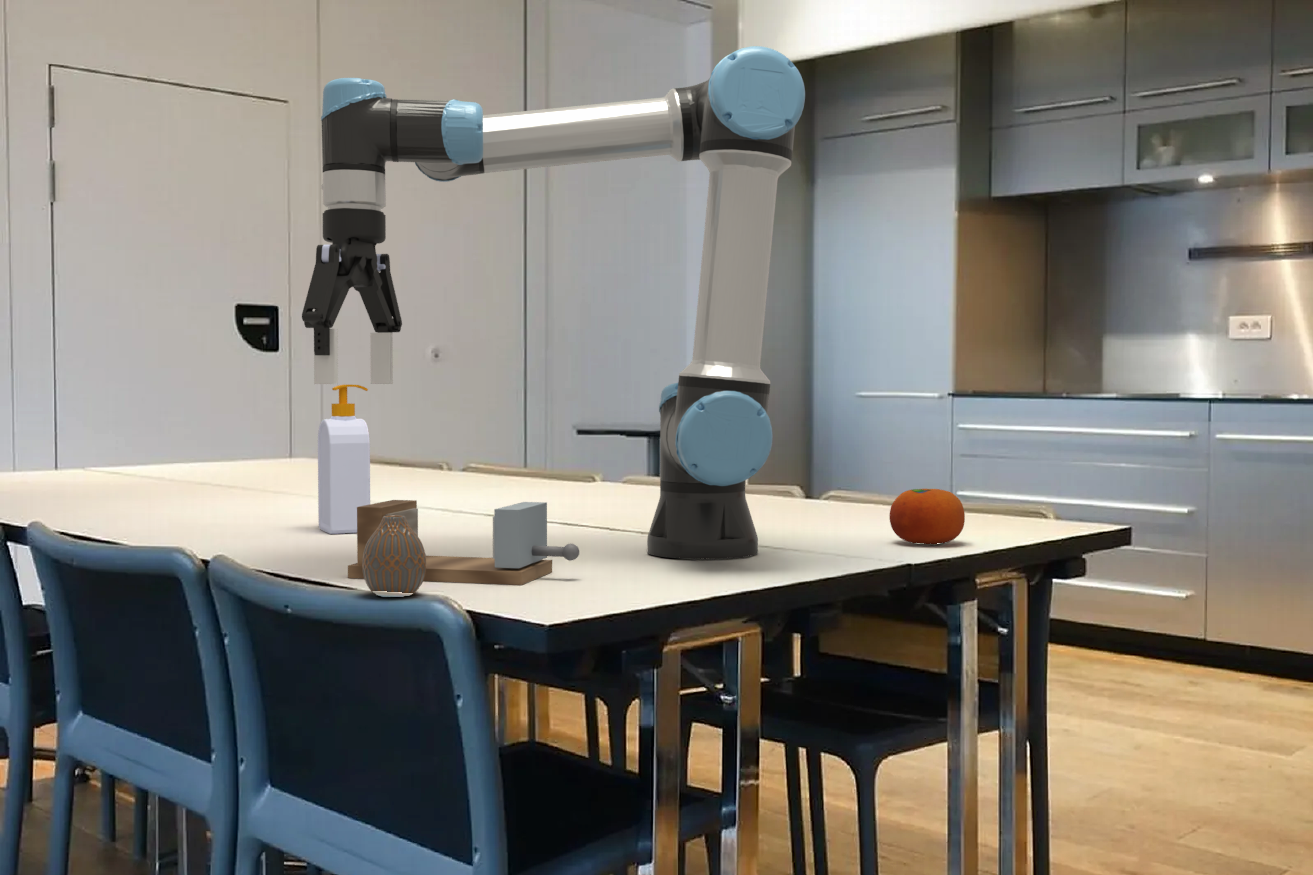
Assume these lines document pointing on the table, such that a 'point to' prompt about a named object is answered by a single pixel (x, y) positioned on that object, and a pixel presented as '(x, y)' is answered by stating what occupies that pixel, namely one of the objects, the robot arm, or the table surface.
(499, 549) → the jaw
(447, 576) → the vise base
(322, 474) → the soap bottle
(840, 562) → the table surface
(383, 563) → the vase
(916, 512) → the fruit
